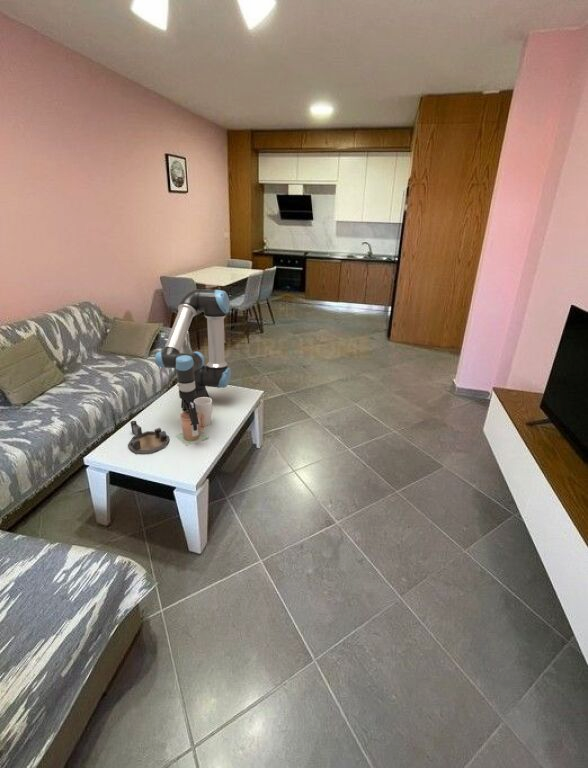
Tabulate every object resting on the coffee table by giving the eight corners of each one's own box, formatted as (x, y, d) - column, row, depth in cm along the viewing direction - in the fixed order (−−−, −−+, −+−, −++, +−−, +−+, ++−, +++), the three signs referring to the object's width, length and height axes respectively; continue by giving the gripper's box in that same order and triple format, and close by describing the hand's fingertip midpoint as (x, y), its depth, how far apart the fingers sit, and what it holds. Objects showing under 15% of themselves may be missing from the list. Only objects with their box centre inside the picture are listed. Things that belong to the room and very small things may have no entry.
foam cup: (209, 428, 185) (207, 406, 180) (192, 426, 187) (190, 403, 182) (216, 419, 194) (214, 398, 189) (200, 417, 195) (198, 396, 190)
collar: (116, 437, 174) (114, 427, 171) (149, 424, 185) (148, 415, 183) (140, 457, 159) (138, 447, 157) (175, 442, 171) (173, 432, 169)
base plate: (159, 430, 182) (159, 429, 182) (176, 445, 170) (176, 444, 170) (122, 443, 171) (122, 442, 171) (138, 460, 159) (137, 459, 159)
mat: (196, 428, 185) (196, 427, 185) (209, 438, 177) (209, 437, 177) (174, 436, 177) (174, 435, 177) (186, 447, 169) (186, 446, 169)
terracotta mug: (179, 435, 177) (176, 414, 172) (200, 428, 184) (198, 407, 179) (187, 443, 171) (185, 421, 167) (208, 435, 178) (207, 413, 174)
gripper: (171, 381, 175) (176, 419, 183) (186, 401, 155) (191, 443, 164) (187, 378, 178) (191, 416, 187) (203, 397, 159) (207, 439, 167)
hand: (191, 428), depth 175 cm, fingers open, 13 cm apart
